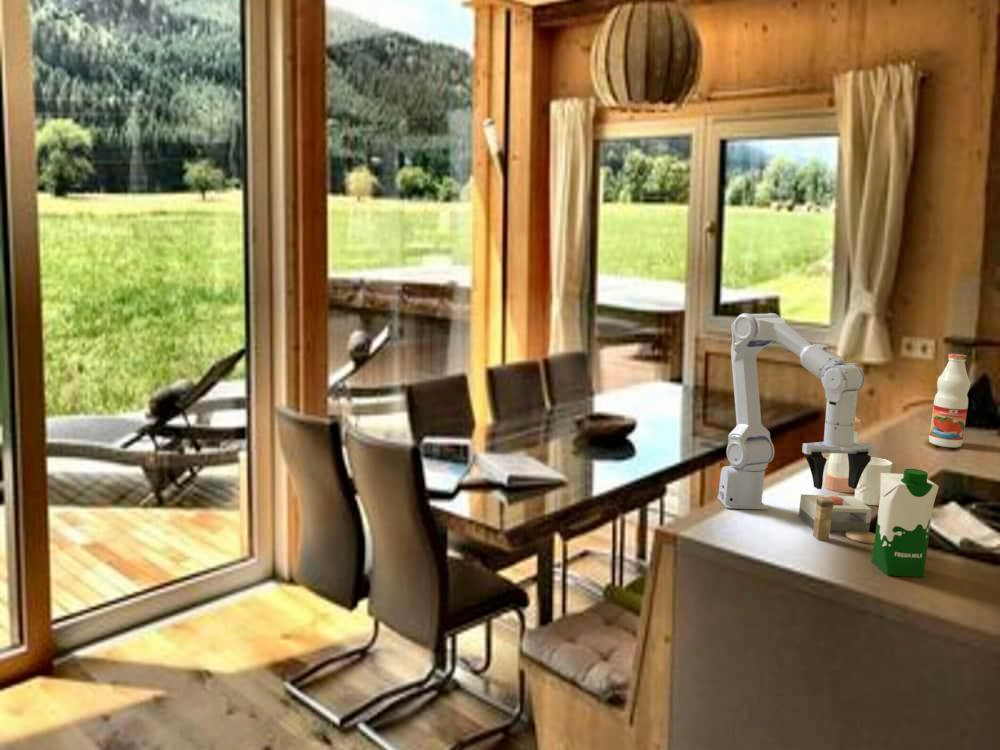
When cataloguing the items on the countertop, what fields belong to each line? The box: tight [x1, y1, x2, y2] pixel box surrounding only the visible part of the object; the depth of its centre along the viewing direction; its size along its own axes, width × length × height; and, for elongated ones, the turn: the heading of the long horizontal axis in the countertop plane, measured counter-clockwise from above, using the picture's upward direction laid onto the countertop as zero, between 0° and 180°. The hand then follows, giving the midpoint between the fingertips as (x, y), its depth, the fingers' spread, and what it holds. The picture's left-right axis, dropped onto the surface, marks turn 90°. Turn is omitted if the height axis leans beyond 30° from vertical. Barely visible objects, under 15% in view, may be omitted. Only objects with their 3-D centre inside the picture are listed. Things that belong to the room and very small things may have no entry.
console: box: [798, 494, 873, 532], centre depth 198 cm, size 12×9×5 cm
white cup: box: [854, 456, 893, 506], centre depth 216 cm, size 8×8×10 cm
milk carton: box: [870, 468, 940, 578], centre depth 172 cm, size 9×9×20 cm
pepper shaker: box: [824, 417, 864, 493], centre depth 224 cm, size 7×7×19 cm
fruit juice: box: [928, 353, 971, 448], centre depth 278 cm, size 9×9×28 cm
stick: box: [812, 497, 834, 541], centre depth 188 cm, size 2×2×8 cm
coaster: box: [845, 530, 876, 545], centre depth 190 cm, size 7×7×1 cm
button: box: [829, 495, 844, 506], centre depth 198 cm, size 3×3×3 cm
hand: (835, 487), depth 187 cm, fingers open, 7 cm apart
